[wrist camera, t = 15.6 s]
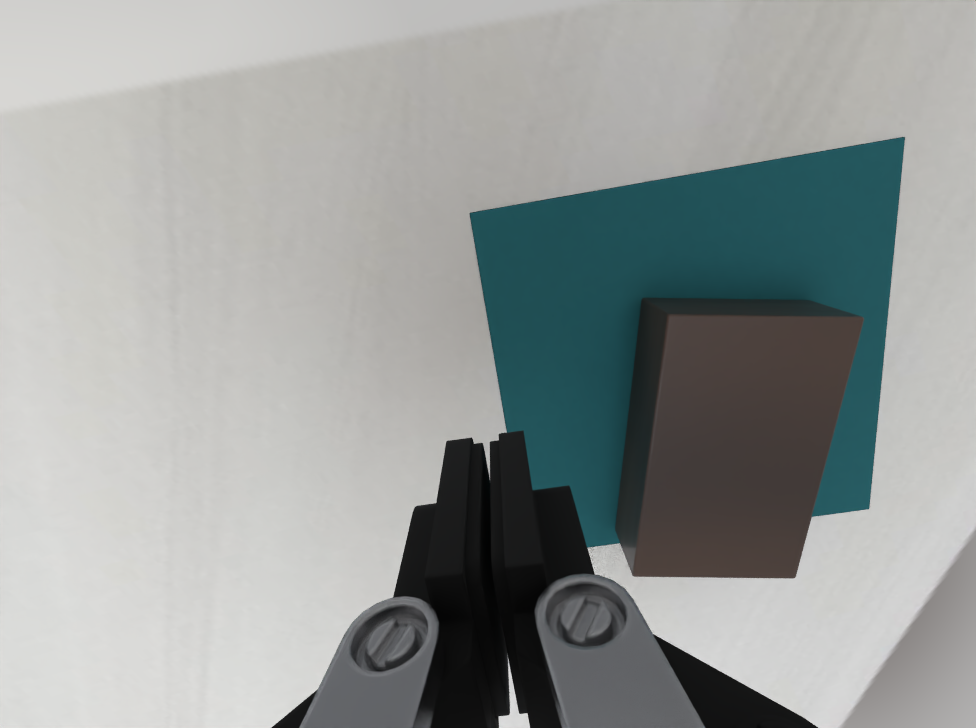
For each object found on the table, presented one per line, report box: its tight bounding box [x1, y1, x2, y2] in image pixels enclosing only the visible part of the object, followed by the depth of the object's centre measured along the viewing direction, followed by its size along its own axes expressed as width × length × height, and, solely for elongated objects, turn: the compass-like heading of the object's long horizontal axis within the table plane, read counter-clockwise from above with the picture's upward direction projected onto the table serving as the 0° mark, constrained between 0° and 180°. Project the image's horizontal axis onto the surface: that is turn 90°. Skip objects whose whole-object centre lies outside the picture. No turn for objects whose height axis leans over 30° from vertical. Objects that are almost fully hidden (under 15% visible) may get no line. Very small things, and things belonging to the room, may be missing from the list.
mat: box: [470, 137, 905, 547], centre depth 17 cm, size 13×13×1 cm
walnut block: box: [615, 298, 864, 578], centre depth 16 cm, size 9×6×2 cm, turn 179°
